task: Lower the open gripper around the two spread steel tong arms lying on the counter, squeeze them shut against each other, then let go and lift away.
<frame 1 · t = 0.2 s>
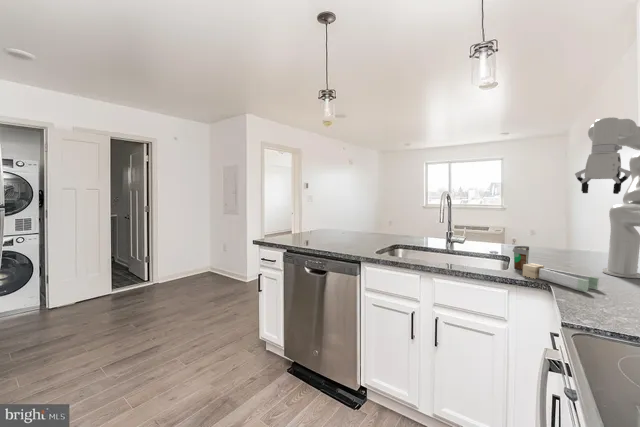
hand: (599, 193, 122), 36 cm above the counter, tool pointing down, fingers open, 9 cm apart
hinge block: (532, 276, 132), on the counter
food container: (518, 268, 146), on the counter
tong arm 2: (569, 277, 122), point 2 cm above the counter, hinge at 9.0°
tong arm 1: (561, 279, 120), point 3 cm above the counter, hinge at 9.0°
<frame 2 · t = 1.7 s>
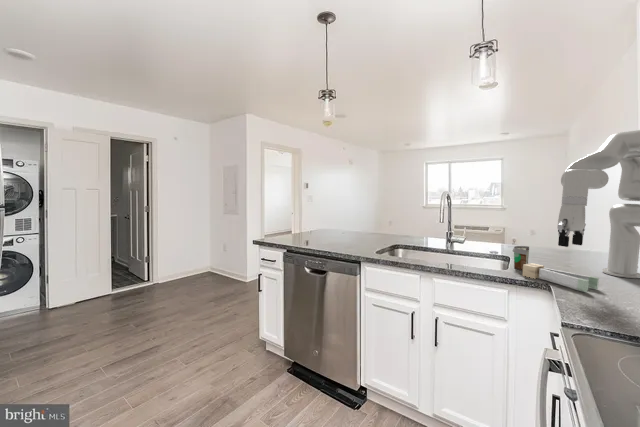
hand: (570, 245, 119), 16 cm above the counter, tool pointing down, fingers open, 9 cm apart
nothing on the counter moved.
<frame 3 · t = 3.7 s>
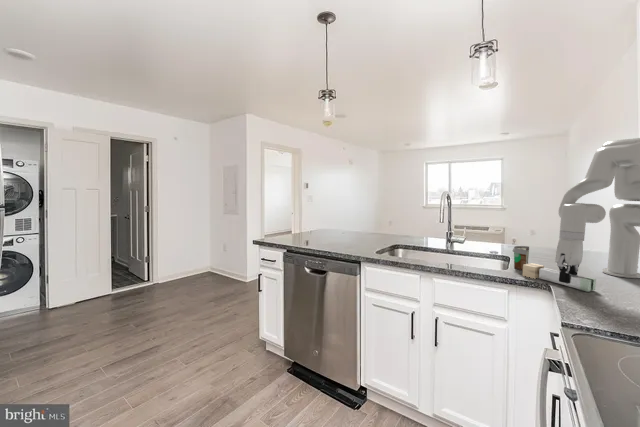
hand: (567, 281, 120), 2 cm above the counter, tool pointing down, fingers open, 4 cm apart
tong arm 2: (567, 278, 121), point 3 cm above the counter, hinge at -0.3°, touching gripper
tong arm 1: (563, 279, 120), point 3 cm above the counter, hinge at 4.5°, touching gripper
everything else where it was.
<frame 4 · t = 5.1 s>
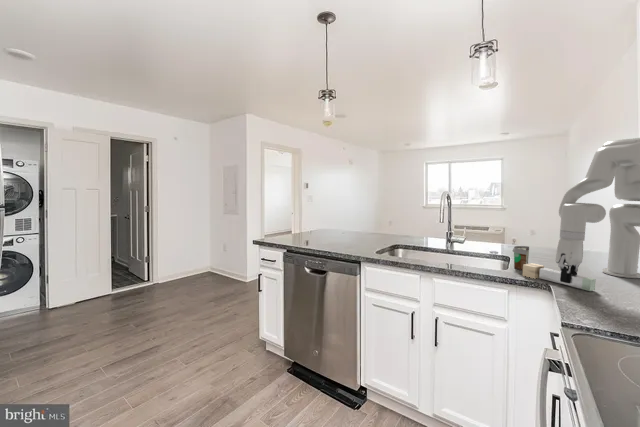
hand: (568, 281, 120), 2 cm above the counter, tool pointing down, fingers open, 3 cm apart
tong arm 2: (567, 278, 121), point 3 cm above the counter, hinge at -1.2°, touching gripper, tong arm 1
tong arm 1: (564, 278, 120), point 3 cm above the counter, hinge at 0.3°, touching gripper, tong arm 2
everything else where it was.
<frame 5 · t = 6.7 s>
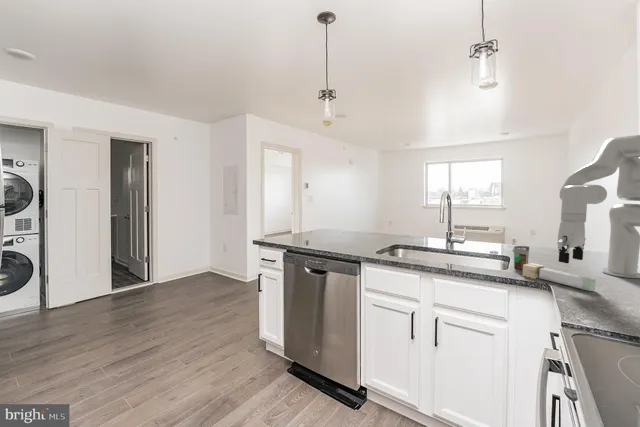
hand: (570, 260, 120), 10 cm above the counter, tool pointing down, fingers open, 9 cm apart
tong arm 2: (567, 278, 121), point 2 cm above the counter, hinge at -1.2°
tong arm 1: (564, 278, 120), point 3 cm above the counter, hinge at 0.3°
everything else where it was.
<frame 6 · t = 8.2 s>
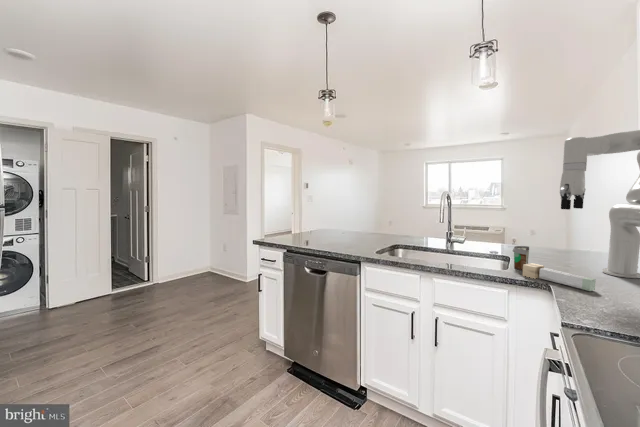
hand: (571, 208, 128), 30 cm above the counter, tool pointing down, fingers open, 9 cm apart
nothing on the counter moved.
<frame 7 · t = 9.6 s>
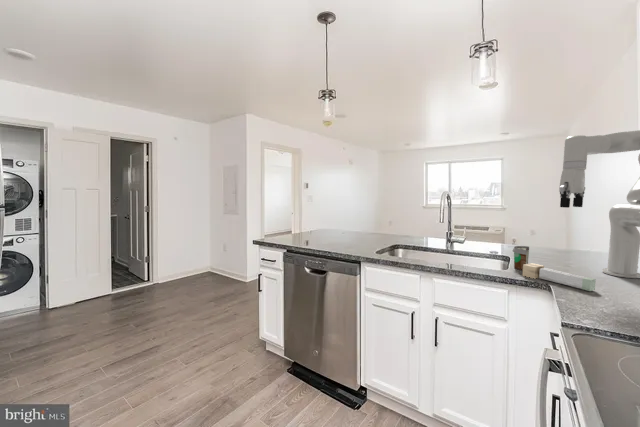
hand: (571, 207, 129), 30 cm above the counter, tool pointing down, fingers open, 9 cm apart
nothing on the counter moved.
at the end: tong arm 1 at +0° (first picture: +9°); tong arm 2 at -1° (first picture: +9°) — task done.
